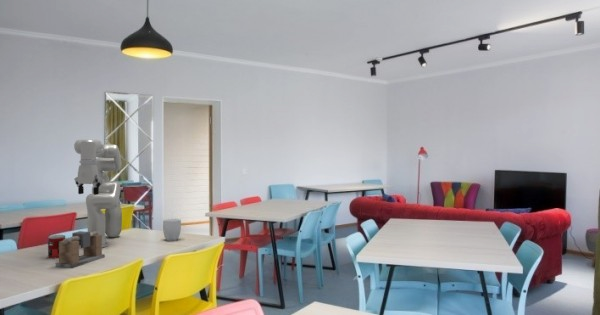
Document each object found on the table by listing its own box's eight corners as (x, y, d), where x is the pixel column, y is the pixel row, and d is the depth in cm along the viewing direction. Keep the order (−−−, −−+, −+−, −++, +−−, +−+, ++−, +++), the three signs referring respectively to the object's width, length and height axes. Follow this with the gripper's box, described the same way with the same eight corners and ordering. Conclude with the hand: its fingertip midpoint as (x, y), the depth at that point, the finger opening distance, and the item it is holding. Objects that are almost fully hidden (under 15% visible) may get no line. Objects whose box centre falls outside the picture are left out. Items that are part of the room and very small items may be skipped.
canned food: (49, 255, 225) (49, 235, 225) (66, 254, 228) (66, 234, 228) (46, 259, 218) (47, 238, 218) (64, 257, 221) (64, 236, 221)
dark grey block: (72, 247, 212) (72, 233, 212) (79, 245, 217) (79, 231, 217) (83, 248, 210) (83, 233, 210) (90, 245, 215) (90, 231, 215)
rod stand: (55, 266, 204) (55, 238, 204) (88, 255, 226) (88, 230, 225) (72, 268, 202) (72, 239, 202) (104, 257, 223) (104, 231, 223)
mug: (165, 237, 276) (165, 217, 276) (182, 236, 278) (182, 217, 278) (161, 241, 262) (161, 221, 262) (179, 241, 263) (179, 220, 263)
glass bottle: (107, 235, 280) (107, 193, 279) (123, 235, 281) (123, 193, 280) (102, 238, 270) (102, 195, 269) (118, 238, 271) (118, 195, 271)
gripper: (69, 162, 226) (69, 194, 226) (97, 163, 221) (97, 195, 222) (80, 162, 233) (80, 192, 233) (106, 162, 229) (106, 194, 229)
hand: (88, 194), depth 227 cm, fingers open, 9 cm apart
